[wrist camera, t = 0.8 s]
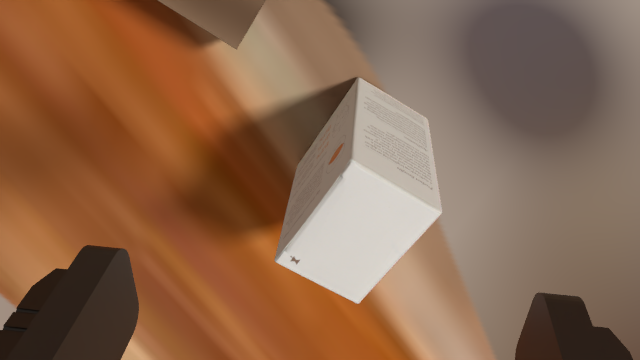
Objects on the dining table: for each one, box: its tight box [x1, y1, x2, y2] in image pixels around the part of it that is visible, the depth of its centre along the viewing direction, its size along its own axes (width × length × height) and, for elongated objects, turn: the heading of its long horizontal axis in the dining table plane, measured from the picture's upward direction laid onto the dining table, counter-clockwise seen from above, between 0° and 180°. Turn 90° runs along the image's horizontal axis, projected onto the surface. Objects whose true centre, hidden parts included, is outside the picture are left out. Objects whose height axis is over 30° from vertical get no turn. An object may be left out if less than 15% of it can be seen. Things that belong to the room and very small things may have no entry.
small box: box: [275, 78, 442, 304], centre depth 34 cm, size 8×6×10 cm
